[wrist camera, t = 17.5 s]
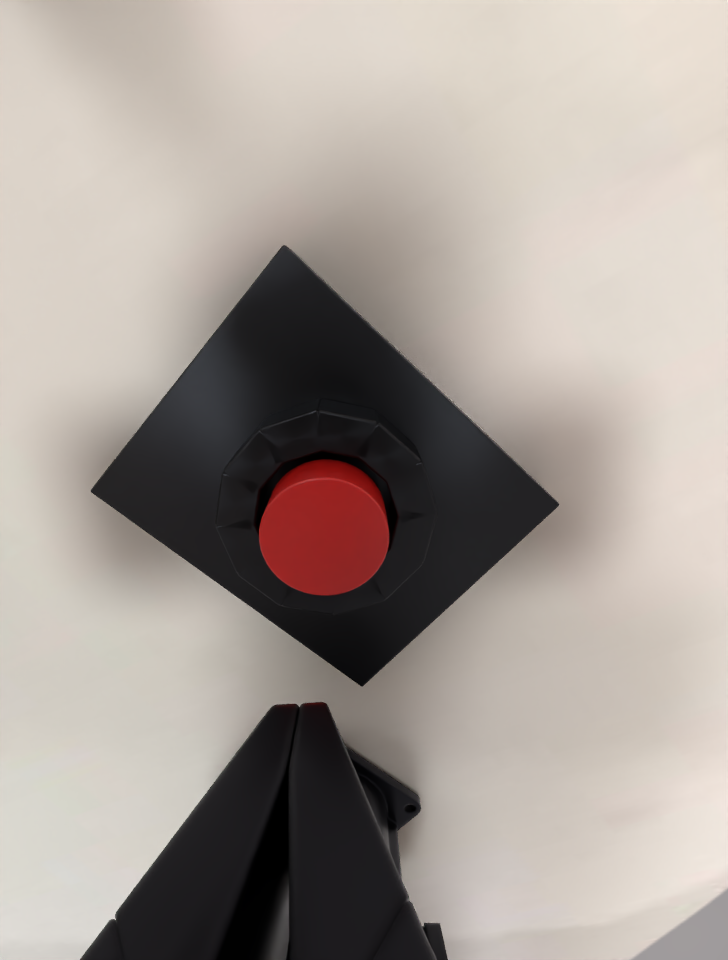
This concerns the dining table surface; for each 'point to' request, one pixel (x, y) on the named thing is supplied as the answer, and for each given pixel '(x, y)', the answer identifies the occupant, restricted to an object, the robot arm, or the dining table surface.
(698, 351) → the dining table surface
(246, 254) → the dining table surface
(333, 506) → the button
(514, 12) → the dining table surface
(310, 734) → the robot arm
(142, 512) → the control block
